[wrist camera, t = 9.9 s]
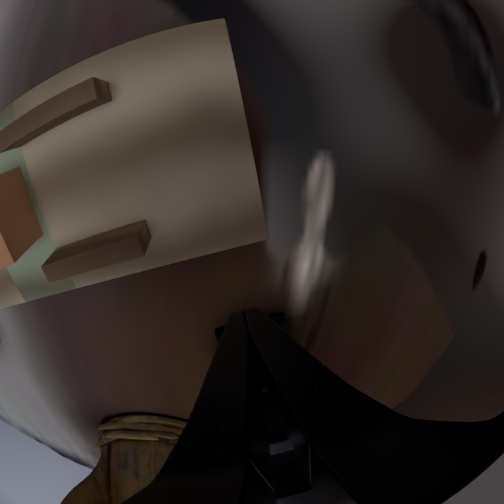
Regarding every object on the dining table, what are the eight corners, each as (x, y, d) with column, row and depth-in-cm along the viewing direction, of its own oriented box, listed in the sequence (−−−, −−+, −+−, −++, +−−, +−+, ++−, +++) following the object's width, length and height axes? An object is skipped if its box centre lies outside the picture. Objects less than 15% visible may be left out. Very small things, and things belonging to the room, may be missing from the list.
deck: (259, 222, 20) (278, 257, 15) (-6, 296, 18) (-30, 330, 14) (220, 33, 14) (229, 1, 9) (-54, 174, 12) (-89, 192, 7)
